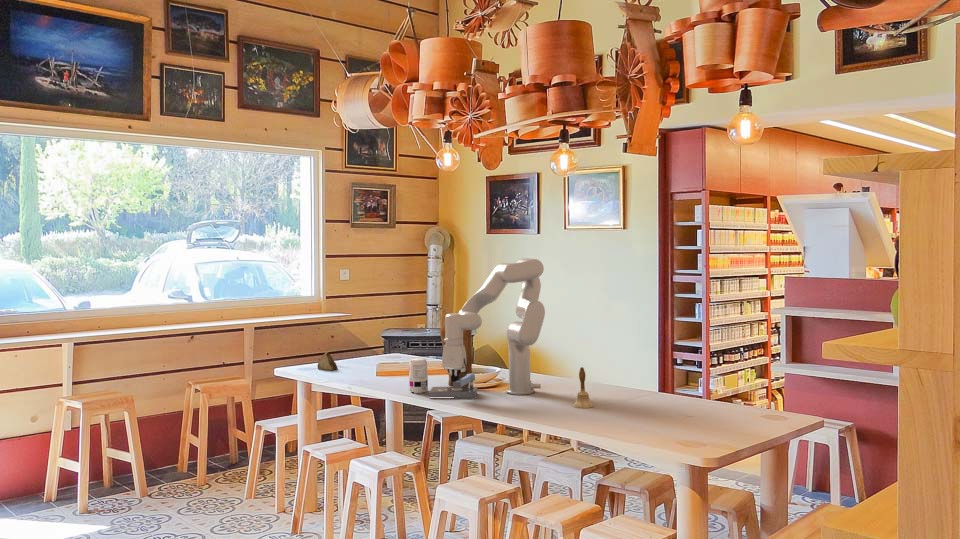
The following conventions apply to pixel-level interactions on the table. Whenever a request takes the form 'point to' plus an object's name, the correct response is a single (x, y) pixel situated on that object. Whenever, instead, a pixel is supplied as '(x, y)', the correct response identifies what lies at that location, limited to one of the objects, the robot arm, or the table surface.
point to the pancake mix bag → (468, 348)
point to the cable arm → (464, 381)
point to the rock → (327, 362)
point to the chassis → (454, 392)
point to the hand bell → (582, 393)
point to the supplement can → (418, 375)
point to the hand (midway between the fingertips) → (455, 384)
